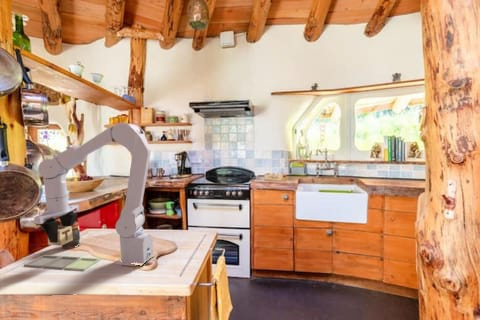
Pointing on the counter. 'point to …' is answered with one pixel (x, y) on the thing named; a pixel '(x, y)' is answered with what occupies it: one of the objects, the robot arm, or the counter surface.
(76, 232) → the supplement bottle
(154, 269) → the counter surface
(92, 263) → the green dish
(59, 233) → the letter block
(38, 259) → the far dish
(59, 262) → the middle dish
